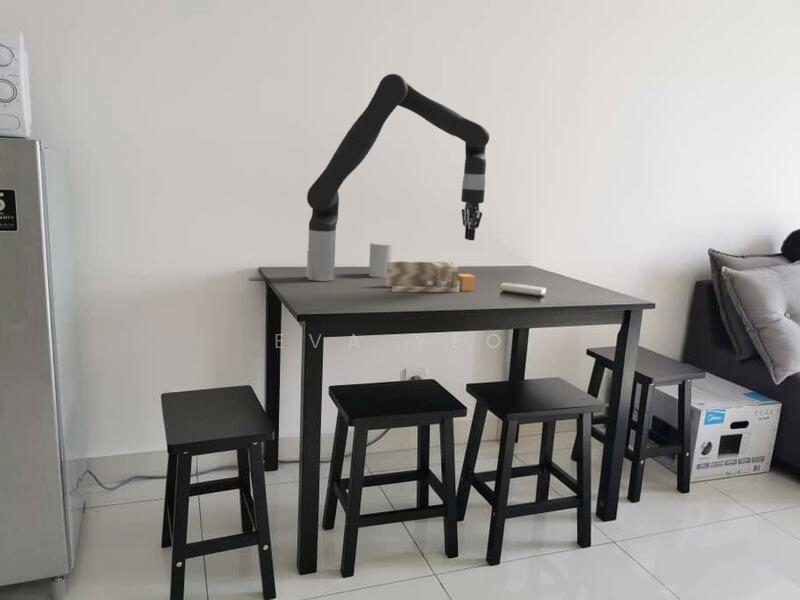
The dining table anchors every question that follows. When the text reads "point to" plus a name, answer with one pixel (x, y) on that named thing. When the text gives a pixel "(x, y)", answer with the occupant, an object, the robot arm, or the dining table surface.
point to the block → (467, 282)
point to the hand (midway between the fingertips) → (469, 239)
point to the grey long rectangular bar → (444, 283)
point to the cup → (379, 259)
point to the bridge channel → (421, 276)
